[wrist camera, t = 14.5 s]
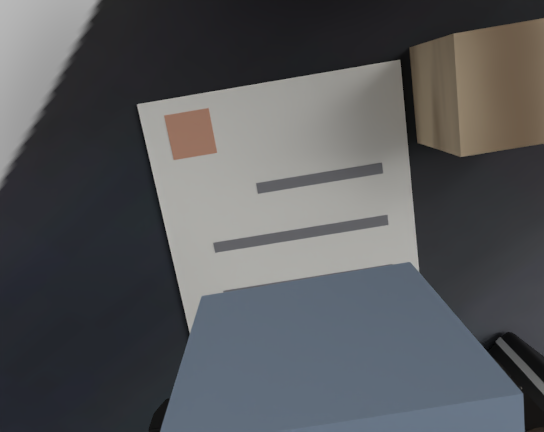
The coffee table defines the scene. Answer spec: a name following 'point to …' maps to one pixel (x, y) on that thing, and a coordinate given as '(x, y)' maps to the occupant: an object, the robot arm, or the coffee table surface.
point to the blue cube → (339, 361)
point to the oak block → (480, 89)
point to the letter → (283, 180)
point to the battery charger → (521, 365)
